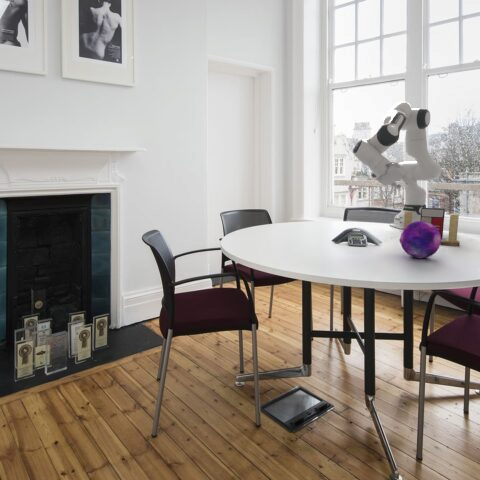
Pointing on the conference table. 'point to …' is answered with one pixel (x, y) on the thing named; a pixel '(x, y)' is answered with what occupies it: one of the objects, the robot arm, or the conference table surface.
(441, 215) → the red and grey box
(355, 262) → the conference table surface
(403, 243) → the decorative orb
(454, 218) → the fixed leg
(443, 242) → the rail
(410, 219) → the sliding leg
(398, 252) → the conference table surface
